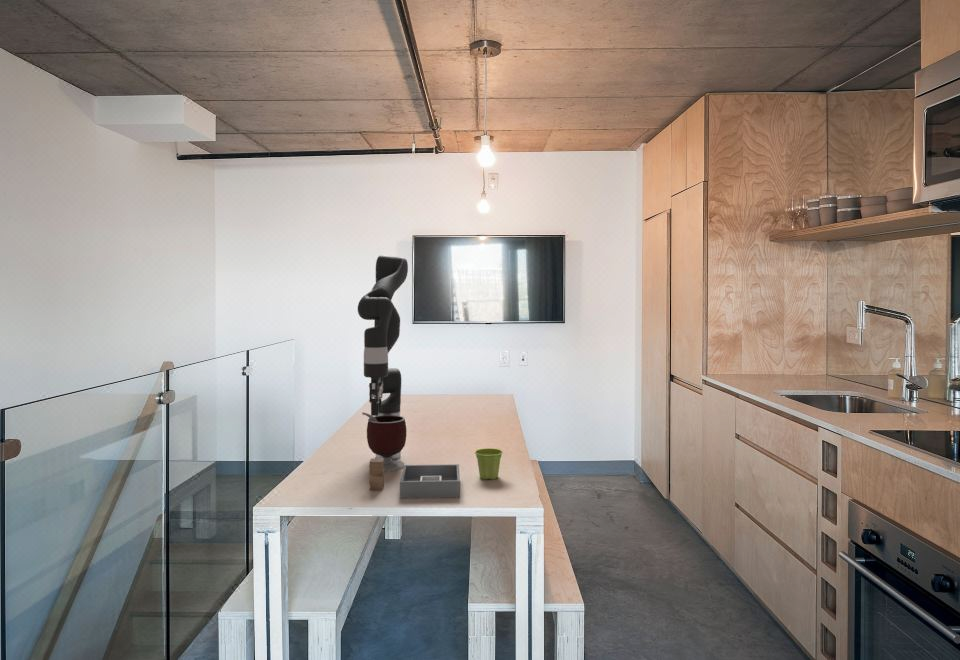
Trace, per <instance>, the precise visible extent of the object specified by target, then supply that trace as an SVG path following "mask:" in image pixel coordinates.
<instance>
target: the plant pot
mask: <svg viewBox="0 0 960 660" xmlns="http://www.w3.org/2000/svg"><path fill="white" fill-rule="evenodd" d="M503 453H504V451H503V450H501V449H500V448H499V449H498V448H491V447H490V448H488V447H487V448H478V449H476V450H474V454H475V456H476V459H477V465H478V474H479V478H481V479H483V480H488V479H489V480H495V479H498V478H499V472H500V471H499V470H500V464H501V458H502V454H503Z"/></svg>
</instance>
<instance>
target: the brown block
mask: <svg viewBox="0 0 960 660" xmlns="http://www.w3.org/2000/svg"><path fill="white" fill-rule="evenodd" d="M369 465H370V467H369V491H383V490H384V488H385V471H384V458H376V457H375V458H370V460H369ZM383 487H384V488H383Z"/></svg>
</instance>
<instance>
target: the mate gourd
mask: <svg viewBox="0 0 960 660" xmlns="http://www.w3.org/2000/svg"><path fill="white" fill-rule="evenodd" d="M362 415H363V416H366V417H368V419H367V421H368V422H367V425H366V426H367V427H366V439H367V440H366V441H367V444H368V448H369V449H370V451H371V452H372V453H373V454H375V455H376V454H377V455H380V456H382V457H383V458H384V472H395V471H399V470H401V469H403V468H404V465H405V463H404V462H403V461H401V460H397V459H391V456H393V455H395V454H397V453H399V452H402V450H403V449H404V448H405V445H406V441H407V425H406V417H404V416H401V415H400V416H396V415H382V416H372V415H371V413H366V412H362ZM368 465H369V468H370V464H368Z"/></svg>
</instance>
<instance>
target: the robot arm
mask: <svg viewBox="0 0 960 660" xmlns="http://www.w3.org/2000/svg"><path fill="white" fill-rule="evenodd" d="M408 271H409V263H408V260H407V259H406V258H405V257H402V256H394V255H384V254H383V255H382V254H381V255H378V256H377V259H376V261H375V284H374V285H373V287H372V289H371V291H369V292H367V293H366V294H365V295H364V296H362V297H361V299H360V300H359V301H358V305H357V313H358V315H359V317H360V318H361V319H363V320H366V321H374V324H373V325H374V326H372V327H368V328H366V329H364V333H363V337H364V338H363V340H364V341H363V344H364V347H363V348H364V349H363V376H364V377H365V378H370V382H369V384H368V387H369V391H368V392H369V396H368V397H369V400H368V401H369V403H370V415H372V416H373V417H375V416H382V415H396V416H401V405H402V403H401V402H402V374H401V371H400V369H398V368H397V367H396V368H394V367H393V368H391V367H390V368H389V353H390V351H391V350H392V349H393V347H394V346H395V345H396V342H397V341H398V339H399V337H400V331H401V329H400V328H401V316H400V314H399V312H398V310H397V308H396V306H395V305H394V303H393V301H392V300H393V297H394V295H395V294H396V293H395V292H397V290H399V288H400V287H401V286H402V285H403V284H404V283H405V281H406V279H407V276H408V273H409V272H408ZM383 394H389V395H388V396H387V398H385V399H384V400H382V399H383ZM401 452H402V451H401ZM401 452H399V453H397V454H395V455H393V456H391V459H392V460H397V459H398V458H400V457H401V456H402V455H401V454H402V453H401ZM375 458H383V457H382V456H380V455H377V454H375Z"/></svg>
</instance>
